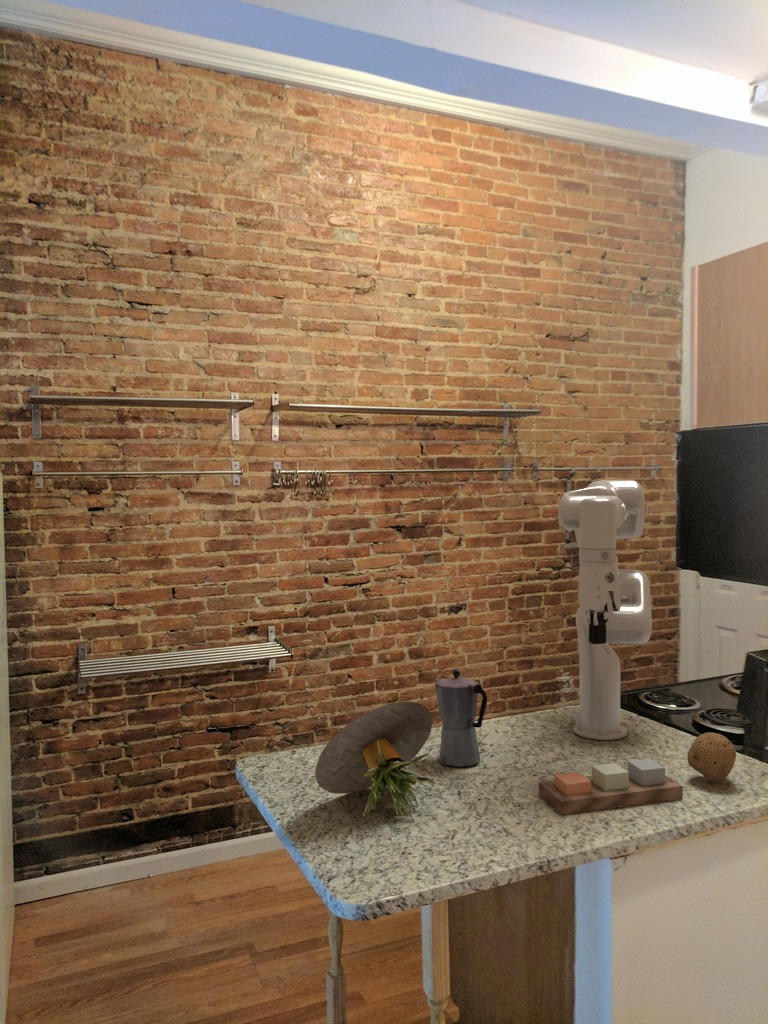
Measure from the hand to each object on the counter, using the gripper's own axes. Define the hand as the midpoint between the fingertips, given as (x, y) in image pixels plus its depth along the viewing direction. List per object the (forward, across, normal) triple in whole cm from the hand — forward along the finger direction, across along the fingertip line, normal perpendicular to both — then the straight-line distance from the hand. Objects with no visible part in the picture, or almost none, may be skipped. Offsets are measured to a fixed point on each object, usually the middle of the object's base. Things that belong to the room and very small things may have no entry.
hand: (597, 643), depth 166 cm
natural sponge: (+27, -12, -19) cm, 35 cm away
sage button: (+26, -13, +5) cm, 29 cm away
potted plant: (+27, -6, +49) cm, 56 cm away
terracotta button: (+26, -13, +13) cm, 32 cm away
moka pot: (+27, +13, +26) cm, 40 cm away
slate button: (+26, -13, -3) cm, 29 cm away
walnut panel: (+27, -13, +5) cm, 31 cm away
